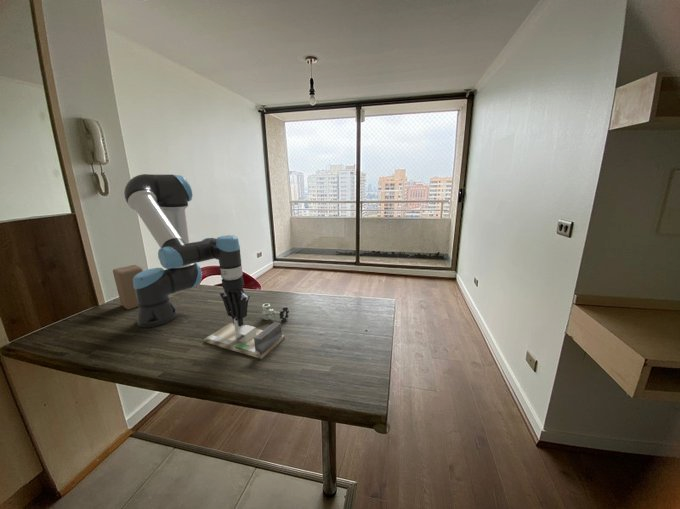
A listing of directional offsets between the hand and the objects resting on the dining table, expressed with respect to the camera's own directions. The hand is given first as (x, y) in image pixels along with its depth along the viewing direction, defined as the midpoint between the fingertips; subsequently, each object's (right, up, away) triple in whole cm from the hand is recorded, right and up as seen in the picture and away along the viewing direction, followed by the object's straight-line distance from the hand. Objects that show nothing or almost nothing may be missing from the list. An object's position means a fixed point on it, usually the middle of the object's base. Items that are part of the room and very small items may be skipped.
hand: (239, 332), depth 104 cm
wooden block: (-67, +5, +33) cm, 75 cm away
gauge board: (+2, -3, 0) cm, 4 cm away
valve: (+10, +1, +16) cm, 19 cm away
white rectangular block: (+3, -2, -2) cm, 4 cm away
